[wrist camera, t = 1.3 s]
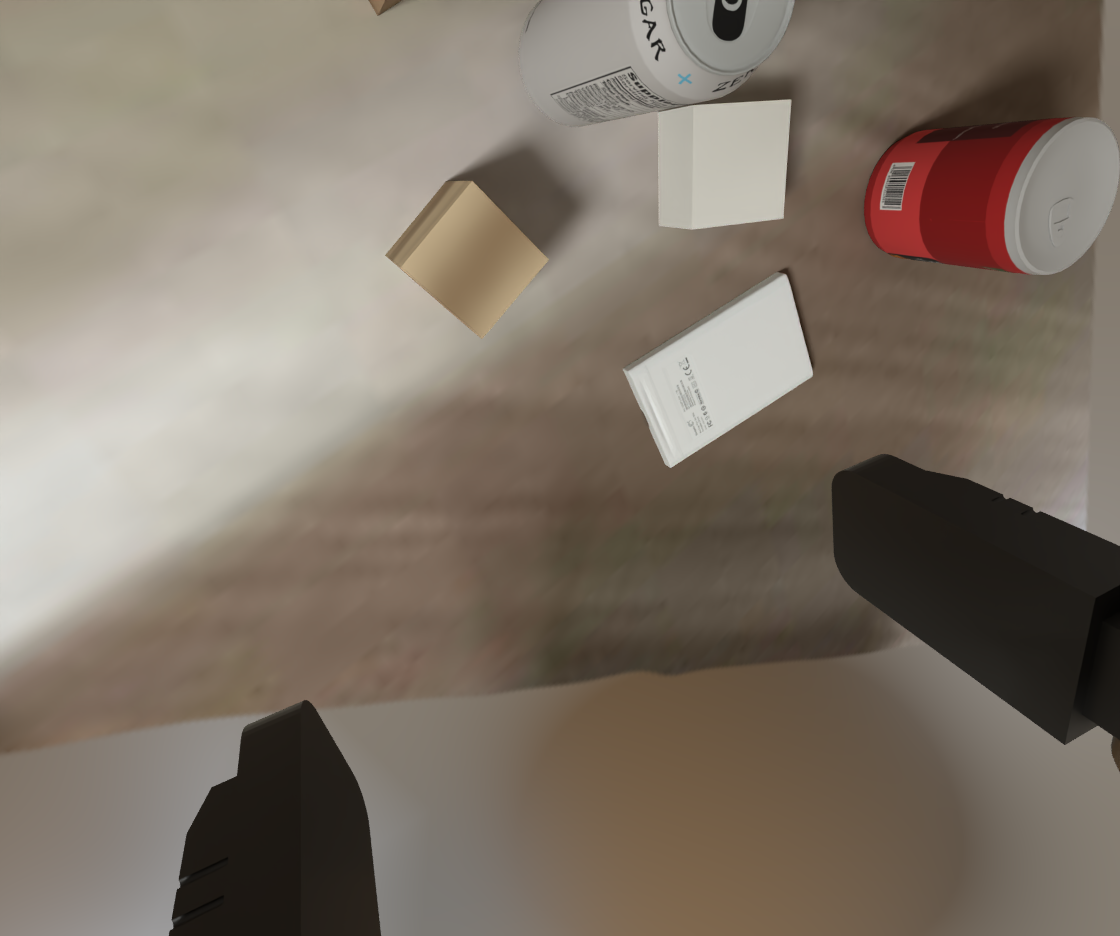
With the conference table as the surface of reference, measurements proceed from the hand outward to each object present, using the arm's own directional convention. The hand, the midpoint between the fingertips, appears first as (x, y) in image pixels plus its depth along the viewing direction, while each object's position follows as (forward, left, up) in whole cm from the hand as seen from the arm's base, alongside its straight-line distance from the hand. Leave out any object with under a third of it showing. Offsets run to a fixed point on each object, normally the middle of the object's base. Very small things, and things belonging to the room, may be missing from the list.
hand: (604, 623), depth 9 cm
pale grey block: (-1, +21, -30) cm, 37 cm away
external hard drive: (+12, +20, -31) cm, 38 cm away
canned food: (+5, +36, -30) cm, 47 cm away
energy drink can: (-8, +14, -30) cm, 34 cm away
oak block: (-1, +5, -30) cm, 30 cm away
